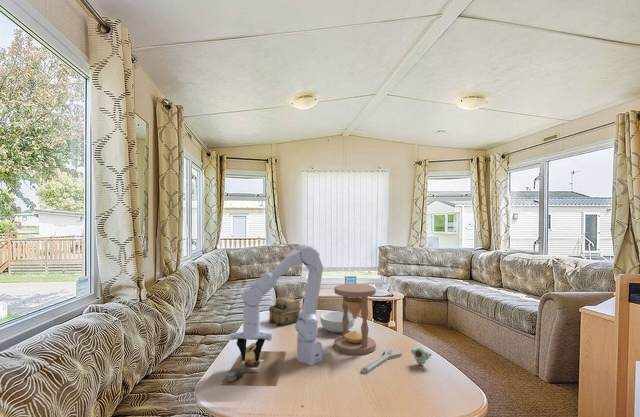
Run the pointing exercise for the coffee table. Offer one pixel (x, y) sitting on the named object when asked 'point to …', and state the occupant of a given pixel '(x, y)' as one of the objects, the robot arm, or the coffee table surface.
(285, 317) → the miniature house
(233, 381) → the tan wooden flat board
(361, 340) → the hourglass
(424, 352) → the robot head
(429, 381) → the coffee table surface
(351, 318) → the cereal bowl
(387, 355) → the adjustable wrench
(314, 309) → the robot arm
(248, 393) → the coffee table surface
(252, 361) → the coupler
